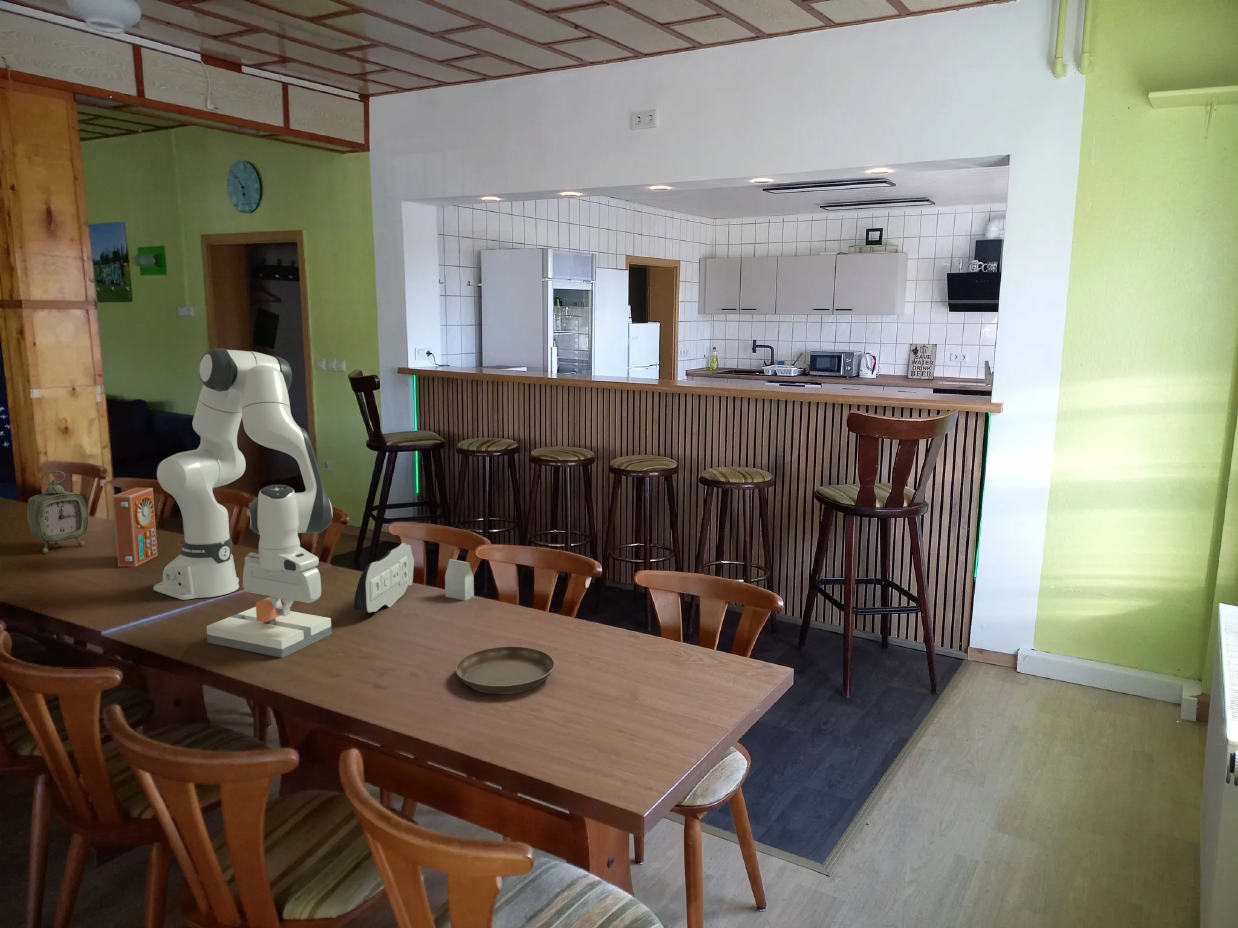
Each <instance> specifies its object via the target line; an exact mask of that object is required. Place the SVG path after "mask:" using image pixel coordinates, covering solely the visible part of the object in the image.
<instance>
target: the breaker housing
mask: <svg viewBox="0 0 1238 928" xmlns="http://www.w3.org/2000/svg"><path fill="white" fill-rule="evenodd" d="M275 620H276V625H270V624H265V623H264V622H261V621H257V616H256V606H254V607H251V608H248V609H247V610H244V611H241V612H238V613H236V614H233V615H230V616H229V617H228V616H227V617H226V618H224V619H221V620H219V621H215V622H213V623H211V624H208V625H206V635H207V637H206V638H207V639H206V640H207V643H209V644H213V645H217V646H223V647H227V648H233V649H238V650H243V651H247V652H252V653H256V654H262V655H267V656H272V657H276V658H280V659H281V658H282V659H283V658H285V657H287V656H289V655H291V654H294V653H296V652H297V651H300V650H301V649H304V648H306V647H308V646H310V645H312V644H314V643H317V642H319V641H321V640H322V639H325V638H326V637H327V638H328V637H329V636H330V635H332V618H331V617H325V616H320V615H315V614H309V613H303V612H298V611H291V610H290V614H289V615H288V616H279V617H277V618H275Z"/></svg>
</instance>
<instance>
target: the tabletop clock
mask: <svg viewBox="0 0 1238 928" xmlns="http://www.w3.org/2000/svg"><path fill="white" fill-rule="evenodd" d="M49 474H61V475H62V476H63V478H61V480H58V481H57V480H56V479H52V480H51V482H50V481H48V482H47V481H44V478H46V477H45V476H47V475H49ZM66 477H67V476H66V474H65V473H64V472H63V471H62V470H61V471H60V470H50V471H47V472H45V473H44V474H43V475H42V476H41V479H40V480H41V482H42V483H43V484H45V485H48V486H47V488H46V489H45V491H44V493H40V494H36V495H34V496H31V497H30V498H29V499H28V501H27V504H26V520H27V526H28V530H29V532H30V533H29V534H30V535H31V536H32V538H35V539H38V540H41V541H44V548H42V550H41V551H42V553H43V554H47V553H48V552H49V548H48V545H49V542H51V543H52V542H54V543H53V544H52V547H54V548H55V549H56V548H59V546H60V544H59V542H61V541H69V540H70V539H75V541H77V542H78V546H80V547H83V546H84V545H85V541H83V540H80V538H79V537H82V536H83V535H85V534H86V533H87V531H88V527H89V514H88V513H89V512H88V506H87V501H86V499H85V497H84V494H83V495H82V494H79V493H75V492H71V491H66V490H65V489H64V487H63V486H62V485H59V484H61V483H63V482H64V481H65V479H66Z"/></svg>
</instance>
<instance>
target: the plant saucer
mask: <svg viewBox="0 0 1238 928" xmlns="http://www.w3.org/2000/svg"><path fill="white" fill-rule="evenodd" d="M555 666H556V665H555V660H554V658H553V657H552V656H551V655H550V654H548V653H547V652H544V651H542V650H540V649H536V648H532V647H525V646H499V647H498V646H497V647H492V648H485V649H482V650H477V651H475V652H472V653H470V654H467V655H466V656H465V657H463V658H462V659H460V660H459V661H458V662H457V664H456V666H455V672H456V674H457V676H458V677H459V679H460V680H461V681H462V682H463V683H464V684H465V685H467V686H468V687H470V688H471V689H473V690H475V691H478V692H481V693H483V694H492V695H493V694H494V695H512V694H519V693H523V692H526V691H530V690H532V689H534V688H536V687H538V686H539V685H541V684H542V683H543V682H545V681H546V679H547V678H548V677H550V676H551V673H552V672H553V670H554V668H555Z"/></svg>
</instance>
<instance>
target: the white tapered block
mask: <svg viewBox="0 0 1238 928" xmlns="http://www.w3.org/2000/svg"><path fill="white" fill-rule="evenodd" d="M474 576H475V575H474V574H473V570H472V568H471V564H470V562H467V561H462V560H457V559H453V558H452V559H451V558H449V559H448V564H447V567H446V571H445V575H444V586H445V589H444V590H445V591H444V593H445V596H444V597H446V598H450V599H451V598H452V599H454V600H460V601H468V600H470V599H472V598H471V597H473V598H474V597H475V589H474V587H475V586H474V584H475V582H474V579H475V578H474ZM451 592H452V593H451Z"/></svg>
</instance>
